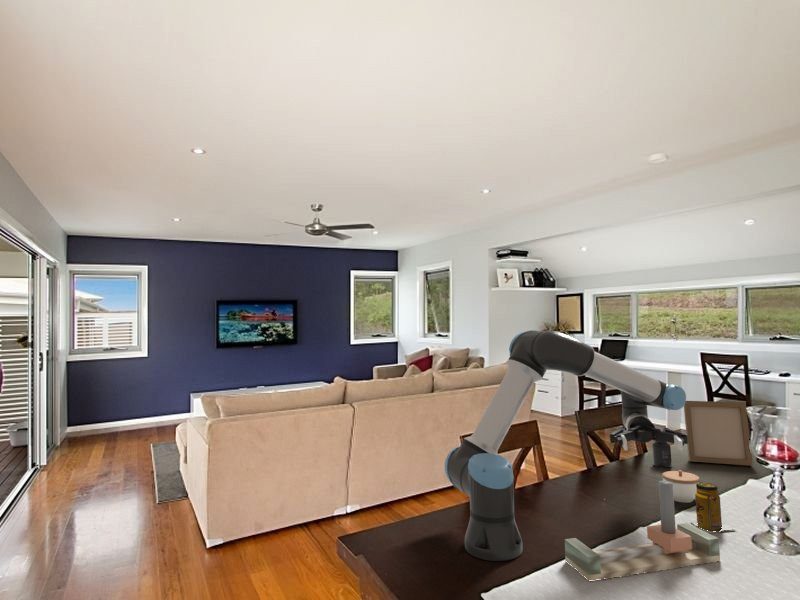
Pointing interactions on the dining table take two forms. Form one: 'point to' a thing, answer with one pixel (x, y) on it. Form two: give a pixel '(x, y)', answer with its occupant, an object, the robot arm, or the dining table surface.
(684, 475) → the lidded jar
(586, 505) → the dining table surface
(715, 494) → the condiment
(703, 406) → the photo frame
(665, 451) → the supplement bottle
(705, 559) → the rail track
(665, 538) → the carriage
